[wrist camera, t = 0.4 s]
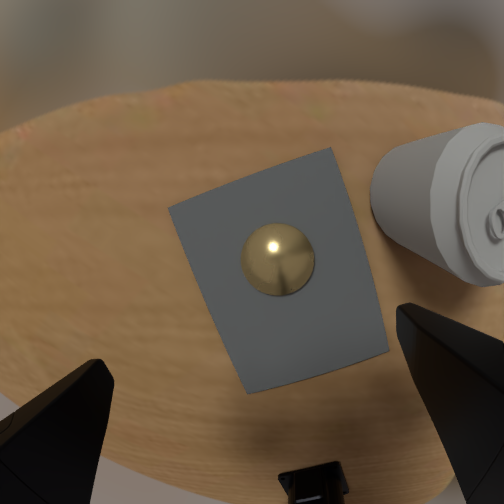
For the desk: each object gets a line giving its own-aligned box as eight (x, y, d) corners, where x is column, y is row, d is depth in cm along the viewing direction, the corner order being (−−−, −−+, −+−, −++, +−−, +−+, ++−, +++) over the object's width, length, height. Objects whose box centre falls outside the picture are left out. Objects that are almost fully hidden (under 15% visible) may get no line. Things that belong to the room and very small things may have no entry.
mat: (387, 347, 24) (389, 350, 23) (248, 390, 25) (247, 394, 25) (329, 148, 21) (330, 147, 20) (170, 207, 23) (167, 207, 22)
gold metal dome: (322, 280, 22) (323, 282, 22) (255, 302, 23) (255, 304, 23) (299, 212, 22) (300, 213, 21) (230, 237, 22) (229, 238, 22)
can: (468, 216, 21) (576, 245, 9) (393, 263, 22) (478, 331, 11) (428, 128, 20) (532, 95, 8) (347, 172, 21) (416, 161, 10)
